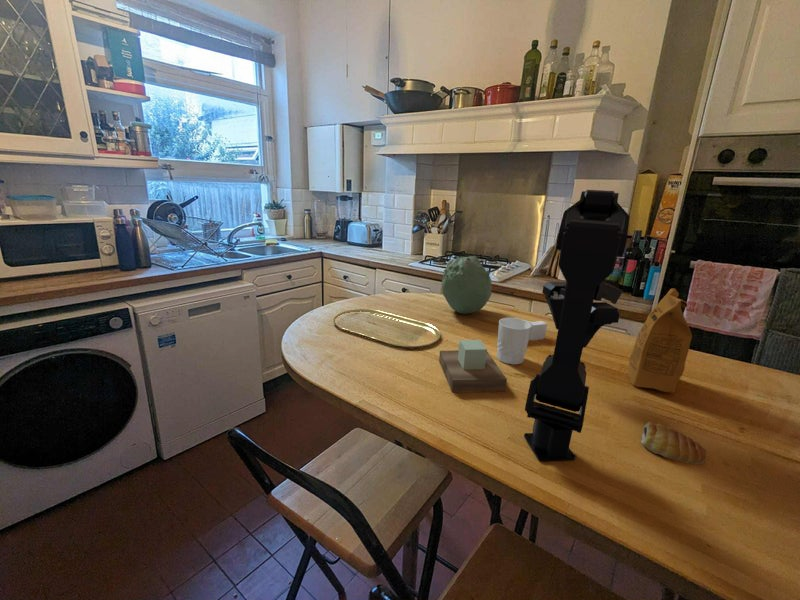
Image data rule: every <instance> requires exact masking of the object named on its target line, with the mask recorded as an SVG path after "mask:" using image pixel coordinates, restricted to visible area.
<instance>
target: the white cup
mask: <svg viewBox="0 0 800 600" xmlns="http://www.w3.org/2000/svg"><path fill="white" fill-rule="evenodd" d="M527 321H528V320H525V319H522V318H517V317H503V318H501V319H499V320H498V329H497V330H498V331H497V332H498V333H497V341H496V342H497V343H496V344H497V345H496V348H497V350H496V351H497V352H496V358H497V359H498V361H500V362H502V363H504V364H508V365H515V366H516V365H521V364H522V363H523V362H524V361H525V357H526V356H525V355H526V352H527V348H528V345H529V341H530V340H529V336H530V331H531V327H532V325H531V324H530V323H529V322H527Z"/></svg>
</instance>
